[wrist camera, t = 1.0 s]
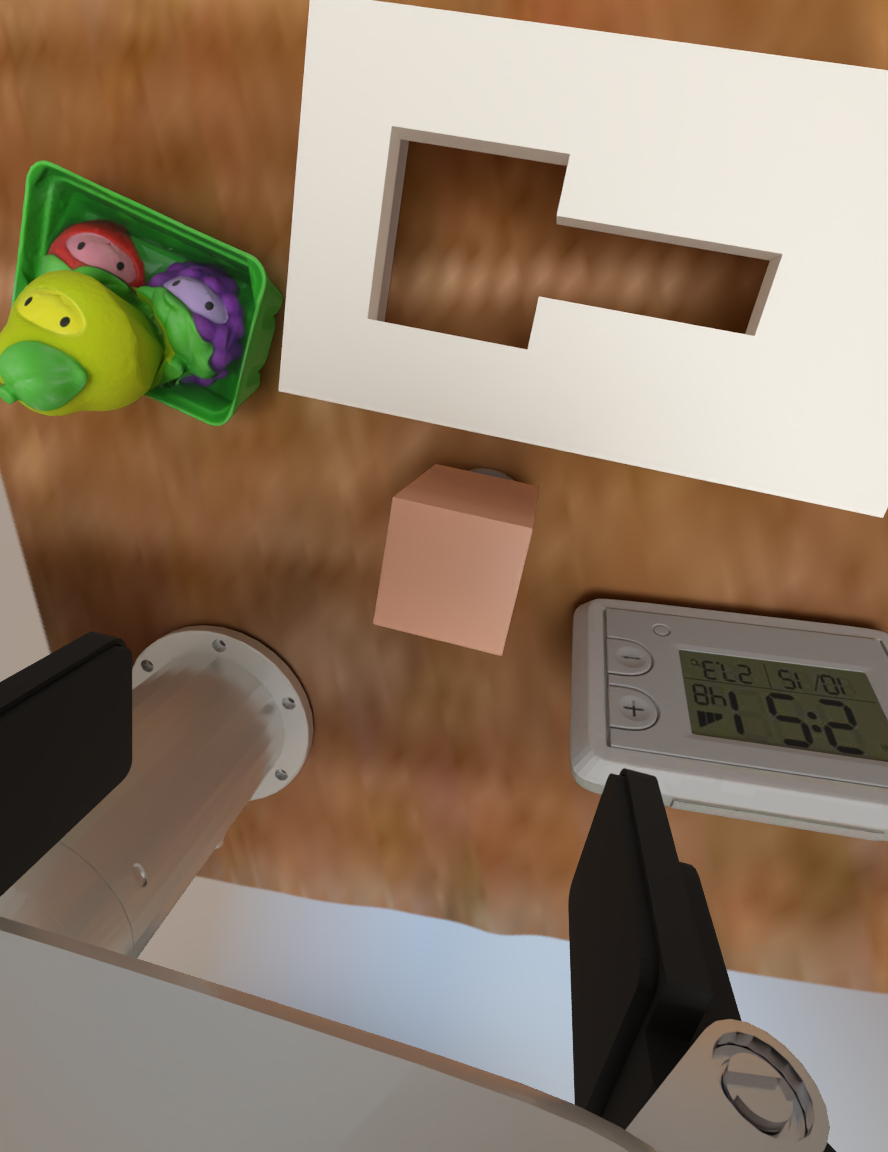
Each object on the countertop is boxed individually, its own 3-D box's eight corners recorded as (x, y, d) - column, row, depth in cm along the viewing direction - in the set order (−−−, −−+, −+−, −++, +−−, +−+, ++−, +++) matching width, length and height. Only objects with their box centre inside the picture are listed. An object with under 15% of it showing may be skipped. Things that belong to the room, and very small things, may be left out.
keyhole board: (787, 474, 29) (882, 517, 20) (353, 385, 31) (278, 390, 23) (898, 190, 25) (1077, 96, 16) (387, 110, 27) (310, -9, 18)
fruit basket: (316, 279, 30) (185, 229, 19) (267, 444, 33) (131, 479, 22) (112, 186, 30) (-128, 87, 19) (83, 359, 33) (-136, 354, 23)
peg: (518, 564, 33) (501, 655, 22) (430, 544, 33) (373, 624, 23) (540, 474, 31) (533, 528, 20) (446, 454, 31) (392, 497, 21)
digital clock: (907, 633, 30) (1079, 761, 20) (822, 772, 33) (935, 941, 24) (597, 540, 31) (617, 618, 22) (544, 682, 35) (540, 807, 25)
